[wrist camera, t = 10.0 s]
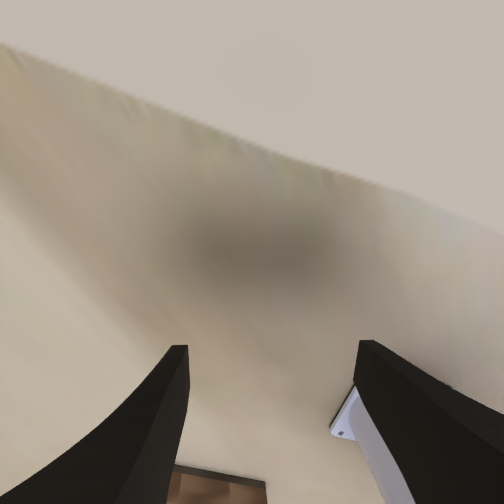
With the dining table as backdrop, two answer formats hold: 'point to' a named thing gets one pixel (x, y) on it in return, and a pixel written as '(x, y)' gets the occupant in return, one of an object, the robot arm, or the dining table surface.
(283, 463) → the dining table surface
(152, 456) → the robot arm
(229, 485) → the walnut block
